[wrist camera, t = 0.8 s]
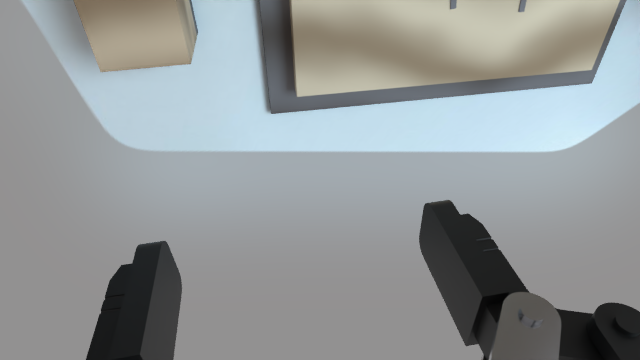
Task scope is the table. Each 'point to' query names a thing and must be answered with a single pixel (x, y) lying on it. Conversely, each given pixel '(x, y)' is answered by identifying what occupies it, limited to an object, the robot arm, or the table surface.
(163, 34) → the block
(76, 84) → the table surface
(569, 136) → the table surface
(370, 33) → the board
